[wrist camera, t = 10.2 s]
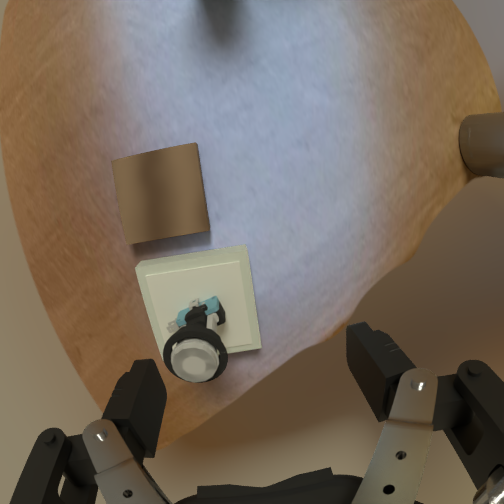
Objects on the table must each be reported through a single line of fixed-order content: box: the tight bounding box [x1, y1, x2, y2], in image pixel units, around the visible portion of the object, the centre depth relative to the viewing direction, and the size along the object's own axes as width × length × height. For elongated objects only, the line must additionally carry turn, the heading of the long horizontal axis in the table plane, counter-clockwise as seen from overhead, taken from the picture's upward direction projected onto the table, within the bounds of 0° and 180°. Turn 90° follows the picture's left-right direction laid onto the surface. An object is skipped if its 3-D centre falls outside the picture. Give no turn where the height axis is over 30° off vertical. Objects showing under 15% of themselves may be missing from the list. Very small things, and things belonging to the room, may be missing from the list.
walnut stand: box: [111, 143, 210, 245], centre depth 29 cm, size 9×9×2 cm
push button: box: [163, 296, 228, 383], centre depth 27 cm, size 7×5×10 cm
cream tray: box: [135, 244, 262, 361], centre depth 33 cm, size 12×12×3 cm
